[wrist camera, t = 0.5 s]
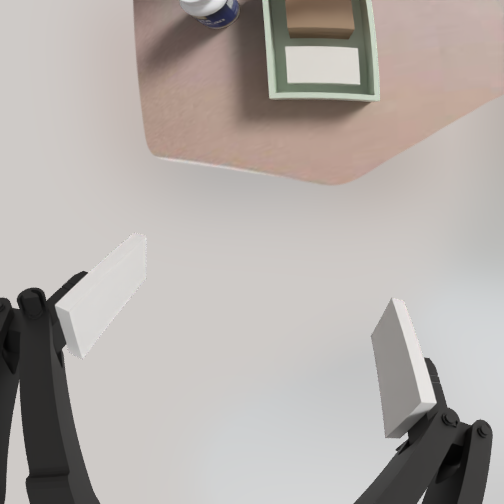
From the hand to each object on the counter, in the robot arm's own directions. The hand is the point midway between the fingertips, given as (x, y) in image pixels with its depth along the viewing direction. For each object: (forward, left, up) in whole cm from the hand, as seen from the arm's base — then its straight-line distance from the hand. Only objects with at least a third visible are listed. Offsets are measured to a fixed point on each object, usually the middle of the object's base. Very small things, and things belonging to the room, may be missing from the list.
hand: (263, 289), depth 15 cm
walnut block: (-22, +4, -25) cm, 33 cm away
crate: (-18, +4, -25) cm, 31 cm away
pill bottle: (-23, -8, -25) cm, 35 cm away
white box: (-14, +4, -25) cm, 29 cm away
